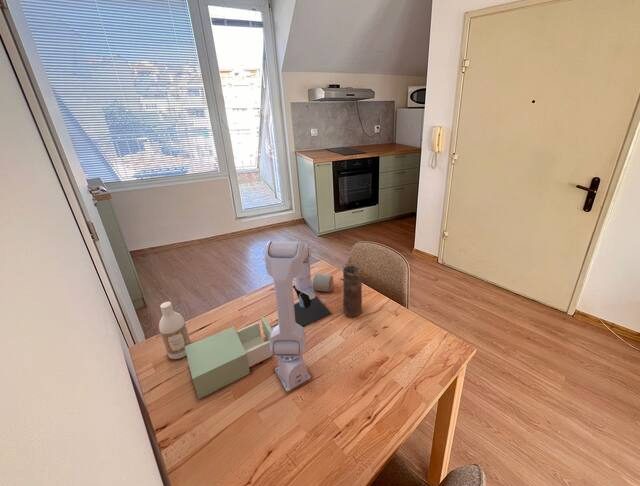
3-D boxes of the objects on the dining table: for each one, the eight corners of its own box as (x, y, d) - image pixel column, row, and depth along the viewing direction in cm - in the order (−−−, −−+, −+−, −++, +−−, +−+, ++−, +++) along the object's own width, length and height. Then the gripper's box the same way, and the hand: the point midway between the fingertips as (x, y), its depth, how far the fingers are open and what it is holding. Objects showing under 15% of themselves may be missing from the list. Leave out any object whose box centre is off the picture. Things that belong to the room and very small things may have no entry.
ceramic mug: (330, 295, 127) (330, 280, 124) (312, 293, 128) (311, 279, 125) (334, 281, 137) (334, 267, 134) (317, 279, 137) (317, 265, 134)
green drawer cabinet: (237, 345, 102) (233, 326, 98) (250, 373, 92) (246, 353, 88) (190, 366, 94) (184, 346, 90) (198, 399, 84) (192, 378, 80)
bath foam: (169, 363, 94) (152, 315, 86) (167, 348, 99) (152, 302, 91) (193, 354, 98) (179, 306, 89) (190, 340, 103) (177, 294, 95)
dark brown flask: (340, 307, 120) (340, 266, 112) (356, 302, 123) (357, 262, 115) (347, 319, 114) (348, 277, 106) (364, 314, 117) (366, 272, 109)
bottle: (311, 304, 115) (310, 293, 113) (302, 308, 113) (301, 296, 111) (306, 299, 118) (306, 287, 116) (297, 303, 116) (296, 291, 113)
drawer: (278, 325, 109) (277, 311, 106) (293, 347, 100) (291, 332, 97) (227, 348, 99) (224, 333, 96) (238, 375, 90) (235, 359, 87)
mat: (330, 313, 117) (330, 312, 117) (293, 331, 108) (293, 330, 108) (315, 296, 126) (315, 295, 126) (279, 311, 118) (279, 310, 117)
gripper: (321, 280, 107) (322, 310, 112) (303, 263, 117) (305, 290, 123) (304, 287, 103) (306, 317, 108) (287, 268, 113) (289, 296, 119)
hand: (304, 303), depth 115 cm, fingers closed on bottle, 4 cm apart
